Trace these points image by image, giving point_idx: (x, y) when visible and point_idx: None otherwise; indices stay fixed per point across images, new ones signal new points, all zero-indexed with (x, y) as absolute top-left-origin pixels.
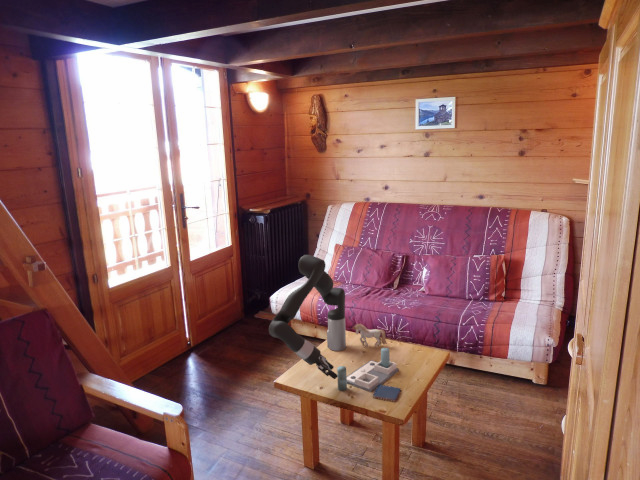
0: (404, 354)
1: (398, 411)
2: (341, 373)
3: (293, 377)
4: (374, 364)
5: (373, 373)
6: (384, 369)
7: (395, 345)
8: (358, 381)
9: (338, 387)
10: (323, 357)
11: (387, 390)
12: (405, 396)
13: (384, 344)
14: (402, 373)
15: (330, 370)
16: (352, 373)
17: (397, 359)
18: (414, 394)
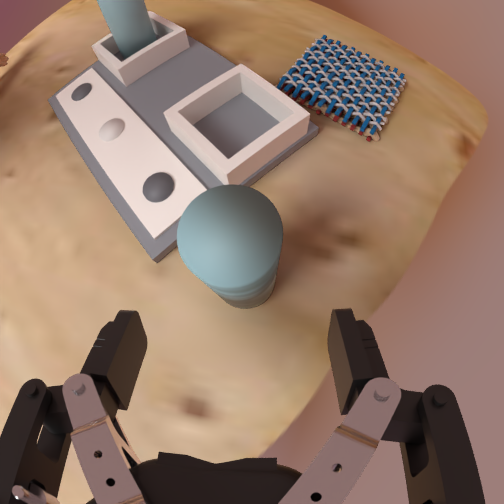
0: (78, 22)
1: (459, 101)
2: (279, 256)
3: (66, 499)
4: (89, 83)
5: (153, 91)
6: (169, 42)
7: (23, 47)
8: (250, 161)
9: (253, 305)
10: (89, 470)
11: (336, 72)
12: (362, 46)
13: (7, 63)
14: (189, 20)
15: (398, 400)
16: (108, 184)
17: (91, 33)
18: (349, 25)
